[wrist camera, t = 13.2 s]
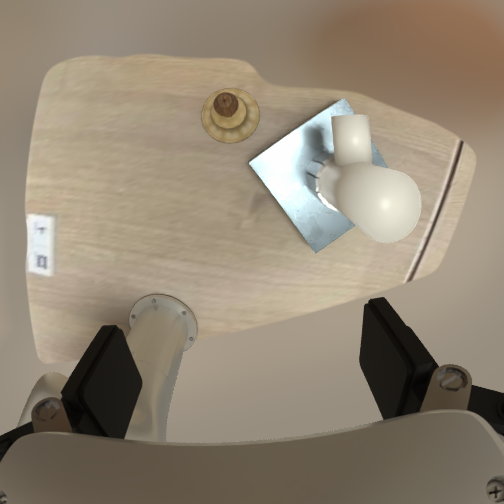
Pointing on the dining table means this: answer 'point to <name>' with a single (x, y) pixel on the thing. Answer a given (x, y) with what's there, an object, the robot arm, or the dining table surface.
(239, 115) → the hand bell
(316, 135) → the vent box
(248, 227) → the dining table surface
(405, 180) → the white tall branched piece
